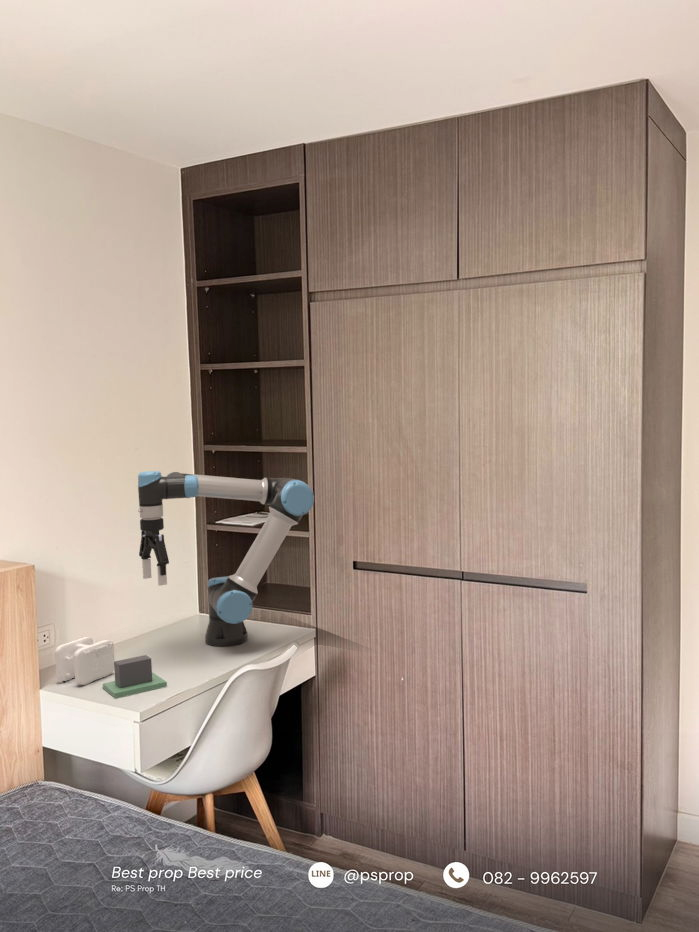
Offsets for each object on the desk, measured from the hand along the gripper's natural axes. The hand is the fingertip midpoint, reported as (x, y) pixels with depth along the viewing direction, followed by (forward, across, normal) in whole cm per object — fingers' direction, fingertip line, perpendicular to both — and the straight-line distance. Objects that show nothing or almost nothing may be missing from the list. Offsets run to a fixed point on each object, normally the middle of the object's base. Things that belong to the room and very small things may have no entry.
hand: (154, 581), depth 280 cm
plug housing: (+25, +21, -16) cm, 37 cm away
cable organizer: (+27, +3, -25) cm, 37 cm away
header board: (+27, +21, -16) cm, 38 cm away
